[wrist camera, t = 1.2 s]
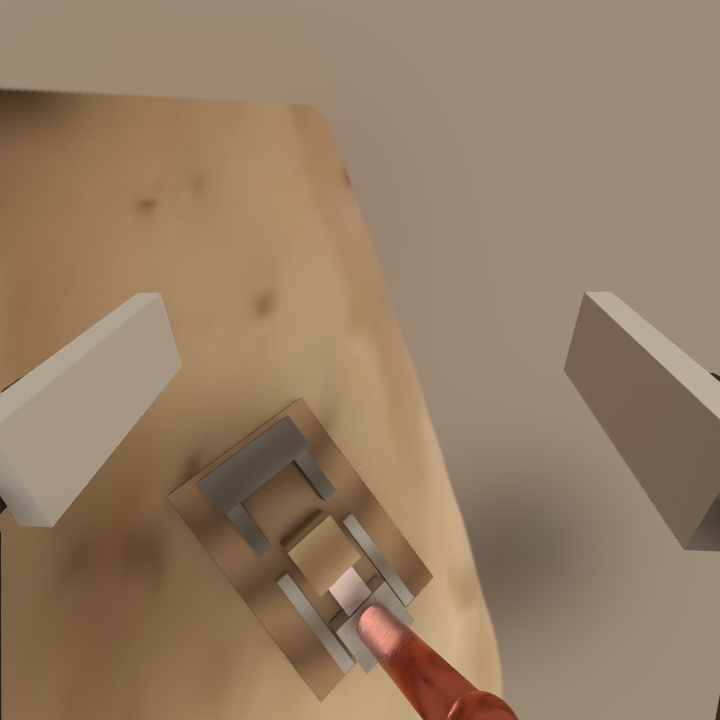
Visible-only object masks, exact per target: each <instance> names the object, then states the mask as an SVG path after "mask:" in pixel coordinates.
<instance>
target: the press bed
mask: <svg viewBox="0 0 720 720" xmlns="http://www.w3.org/2000/svg"><path fill="white" fill-rule="evenodd" d="M167 498H168V499H169V500H170V502H171V503H172V504H173V506H174V507H175V508H176V510H177V511H178V512H179V514H180V515H181V516H182V518H183V519H184V520H185V522H186V523H187V524H188V526H189V527H190V528H191V530H192V531H193V532H194V534H195V535H196V536H197V538H198V539H199V540H200V542H201V543H202V544H203V546H204V547H205V548H206V550H207V551H208V552H209V554H210V555H211V556H212V558H213V559H214V560H215V562H216V563H217V564H218V566H219V567H220V568H221V570H222V571H223V572H224V574H225V575H226V576H227V578H228V579H229V580H230V582H231V583H232V584H233V586H234V587H235V588H236V590H237V591H238V592H239V594H240V595H241V596H242V598H243V599H244V601H245V602H246V603H247V605H248V606H249V607H250V609H251V610H252V611H253V613H254V614H255V615H256V617H257V618H258V619H259V621H260V622H261V623H262V625H263V626H264V627H265V629H266V630H267V631H268V633H269V634H270V635H271V637H272V638H273V639H274V641H275V642H276V643H277V645H278V646H279V647H280V649H281V650H282V651H283V653H284V654H285V655H286V657H287V658H288V659H289V661H290V662H291V663H292V665H293V666H294V667H295V669H296V670H297V671H298V673H299V674H300V675H301V677H302V678H303V679H304V681H305V682H306V683H307V685H308V686H309V687H310V689H311V690H312V691H313V693H314V694H315V695H316V697H317V698H318V699H319V701H320V702H322V701H323V699H324V698H325V697H326V696H327V695H328V694H329V693H330V692H331V691H332V689H333V688H334V687H335V686H336V685H337V684H338V683H339V682H340V681H341V679H342V678H343V677H344V676H345V675H346V674H347V673H348V672H349V671H350V669H351V668H352V667H353V666H354V665H355V664H356V663H357V662H358V661H357V660H356V658H355V657H354V656H353V654H352V653H351V652H350V650H349V649H348V648H347V646H346V645H345V644H344V642H343V641H342V640H341V638H340V637H339V636H338V634H337V633H336V632H335V630H334V629H333V627H332V626H331V624H330V622H331V621H332V620H333V619H334V618H335V617H336V616H337V615H338V614H339V613H340V611H341V610H342V608H341V606H340V605H339V604H338V602H337V601H336V600H335V598H334V597H333V596H332V594H331V593H330V591H329V590H327V591H326V592H325V593H324V594H323V595H322V596H321V597H320V596H319V595H318V593H317V592H316V591H315V589H314V588H313V587H312V585H311V584H310V583H309V581H308V580H307V579H306V577H305V576H304V575H303V573H302V572H301V571H300V569H299V568H298V567H297V565H296V564H295V563H294V561H293V560H292V558H291V557H290V556H289V554H288V553H287V552H286V550H285V549H284V548H283V546H282V545H281V543H280V542H281V541H283V540H284V539H285V538H286V537H287V536H288V535H289V534H290V533H292V532H293V531H294V530H295V529H296V528H297V527H298V526H300V525H301V524H302V523H303V522H304V521H305V520H306V519H307V518H309V517H310V516H311V515H312V514H313V513H314V512H315V511H317V510H318V509H319V510H321V511H323V512H325V513H327V514H329V515H330V516H331V517H332V518H333V520H334V521H335V522H336V524H337V525H338V526H339V528H340V529H341V531H342V532H343V533H344V535H345V536H346V537H347V539H348V540H349V541H350V543H351V544H352V545H353V547H354V548H355V549H356V551H357V552H358V553H359V555H360V556H361V558H360V559H359V560H358V561H357V562H356V563H355V564H354V565H352V567H353V568H354V570H355V571H356V572H357V574H358V575H359V576H360V578H361V579H362V580H363V582H364V583H365V585H367V584H368V583H369V582H370V581H371V580H372V579H373V577H374V576H375V575H378V576H379V577H380V578H382V579H383V580H384V581H385V582H386V583H387V584H388V586H389V587H390V588H391V590H392V591H393V592H394V594H395V595H396V596H397V598H398V599H399V601H400V602H401V603H402V605H403V606H404V607H405V608H406V607H407V606H408V605H409V604H410V603H411V601H412V600H413V599H414V598H415V597H416V596H417V595H418V594H419V593H420V591H421V590H422V589H423V588H424V587H425V586H426V585H427V584H428V583H429V581H430V580H431V579H432V578H433V576H432V574H431V573H430V572H429V570H428V569H427V567H426V566H425V565H424V563H423V562H422V561H421V559H420V558H419V557H418V555H417V554H416V553H415V551H414V550H413V549H412V547H411V546H410V544H409V543H408V542H407V540H406V539H405V538H404V536H403V535H402V534H401V532H400V531H399V530H398V528H397V527H396V526H395V524H394V523H393V521H392V520H391V519H390V517H389V516H388V515H387V513H386V512H385V511H384V509H383V508H382V507H381V505H380V504H379V502H378V501H377V500H376V498H375V497H374V496H373V494H372V493H371V492H370V490H369V489H368V488H367V486H366V485H365V484H364V482H363V481H362V479H361V478H360V477H359V475H358V474H357V473H356V471H355V470H354V469H353V467H352V466H351V465H350V463H349V462H348V460H347V459H346V458H345V456H344V455H343V454H342V452H341V451H340V450H339V448H338V447H337V446H336V444H335V443H334V442H333V440H332V439H331V437H330V436H329V435H328V433H327V432H326V431H325V429H324V428H323V427H322V425H321V424H320V423H319V421H318V420H317V419H316V417H315V416H314V414H313V413H312V412H311V410H310V409H309V408H308V406H307V405H306V404H305V402H304V401H303V400H302V398H300V399H298V400H297V401H296V402H294V403H293V404H291V405H290V406H289V407H287V408H286V409H285V410H283V411H282V412H281V413H279V414H278V415H277V416H275V417H274V418H272V419H271V420H270V421H268V422H267V423H266V424H264V425H263V426H262V427H260V428H259V429H258V430H256V431H255V432H253V433H252V434H251V435H249V436H248V437H247V438H245V439H244V440H243V441H241V442H240V443H239V444H237V445H236V446H234V447H233V448H232V449H230V450H229V451H228V452H226V453H225V454H224V455H222V456H221V457H220V458H218V459H217V460H215V461H214V462H213V463H211V464H210V465H209V466H207V467H206V468H205V469H203V470H202V471H201V472H199V473H198V474H196V475H195V476H194V477H192V478H191V479H190V480H188V481H187V482H186V483H184V484H183V485H182V486H180V487H179V488H177V489H176V490H175V491H173V492H172V493H171V494H169V495H168V496H167Z"/></svg>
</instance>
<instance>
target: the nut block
mask: <svg viewBox="0 0 720 720" xmlns="http://www.w3.org/2000/svg"><path fill="white" fill-rule="evenodd" d="M280 543H281V545H282V546H283V548H284V549H285V550H286V552H287V553H288V554H289V556H290V557H291V558H292V560H293V561H294V563H295V564H296V565H297V567H298V568H299V569H300V571H301V572H302V573H303V575H304V576H305V577H306V579H307V580H308V581H309V583H310V584H311V585H312V587H313V588H314V589H315V591H316V592H317V593H318V595H319V596H320V597H321V596H322V595H323V594H324V593H325V592H326V591H327V590H328V589H329V588H330V587H331V586H332V585H333V584H334V583H335V582H336V581H337V580H338V579H339V578H340V577H341V576H342V575H343V574H344V573H345V572H346V571H347V570H348V569H349V568H350V567H351V566H352V565H354V564H355V563H356V562H357V561H358V560H359V559H360V558H361V556H360V555H359V553H358V552H357V551H356V549H355V548H354V547H353V545H352V544H351V543H350V541H349V540H348V539H347V537H346V536H345V535H344V533H343V532H342V531H341V529H340V528H339V526H338V525H337V524H336V522H335V521H334V520H333V518H332V517H331V516H330V515H329V514H327V513H325V512H323V511H321V510H319V509H318V510H317V511H315V512H314V513H313V514H312V515H311V516H310V517H309V518H307V519H306V520H305V521H304V522H303V523H302V524H301V525H300V526H298V527H297V528H296V529H295V530H294V531H293V532H292V533H290V534H289V535H288V536H287V537H286V538H285V539H284V540H283V541H281V542H280Z"/></svg>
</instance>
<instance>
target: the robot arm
mask: <svg viewBox="0 0 720 720" xmlns="http://www.w3.org/2000/svg"><path fill="white" fill-rule="evenodd" d="M181 367H182V365H181V361H180V358H179V354H178V351H177V347H176V344H175V341H174V337H173V334H172V330H171V327H170V323H169V320H168V317H167V313H166V310H165V306H164V303H163V299H162V296H161V293H137V294H136V295H134V296H133V297H132V298H130V299H129V300H128V301H126V302H125V303H123V304H122V305H121V306H119V307H118V308H117V309H115V310H114V311H113V312H111V313H110V314H108V315H107V316H106V317H104V318H103V319H102V320H100V321H99V322H98V323H96V324H95V325H93V326H92V327H91V328H89V329H88V330H87V331H85V332H84V333H83V334H81V335H80V336H78V337H77V338H76V339H74V340H73V341H72V342H70V343H69V344H68V345H66V346H65V347H63V348H62V349H61V350H59V351H58V352H57V353H55V354H54V355H53V356H51V357H50V358H48V359H47V360H46V361H44V362H43V363H42V364H40V365H39V366H38V367H36V368H35V369H33V370H32V371H31V372H29V373H28V374H27V375H25V376H23V377H21V378H19V379H18V380H16V381H15V382H14V383H12V384H11V385H10V386H8V387H7V388H5V389H4V390H3V391H2V393H1V394H0V514H1V513H2V511H3V510H4V509H5V508H7V509H8V511H9V512H10V513H11V515H12V516H13V518H14V519H15V521H16V522H17V524H18V525H19V526H31V527H53V526H54V525H55V523H56V522H57V521H58V520H59V518H60V517H61V516H62V515H63V513H64V512H65V511H66V510H67V508H68V507H69V506H70V505H71V504H72V502H73V501H74V500H75V499H76V497H77V496H78V495H79V494H80V492H81V491H82V490H83V489H84V487H85V486H86V485H87V484H88V482H89V481H90V480H91V479H92V477H93V476H94V475H95V474H96V472H97V471H98V470H99V469H100V467H101V466H102V465H103V464H104V462H105V461H106V460H107V459H108V458H109V456H110V455H111V454H112V453H113V451H114V450H115V449H116V448H117V446H118V445H119V444H120V443H121V441H122V440H123V439H124V438H125V436H126V435H127V434H128V433H129V431H130V430H131V429H132V428H133V426H134V425H135V424H136V423H137V421H138V420H139V419H140V418H141V416H142V415H143V414H144V413H145V412H146V410H147V409H148V408H149V407H150V405H151V404H152V403H153V402H154V400H155V399H156V398H157V397H158V395H159V394H160V393H161V392H162V390H163V389H164V388H165V387H166V385H167V384H168V383H169V382H170V380H171V379H172V378H173V377H174V375H175V374H176V373H177V372H178V370H179V369H180V368H181ZM564 371H565V373H566V374H567V376H568V377H569V379H570V380H571V382H572V383H573V384H574V386H575V388H576V389H577V390H578V392H579V393H580V395H581V396H582V398H583V399H584V401H585V402H586V404H587V405H588V407H589V409H590V410H591V411H592V413H593V414H594V416H595V417H596V419H597V420H598V422H599V423H600V425H601V426H602V428H603V429H604V431H605V432H606V434H607V435H608V437H609V438H610V440H611V441H612V443H613V444H614V446H615V447H616V449H617V450H618V452H619V453H620V455H621V456H622V458H623V459H624V461H625V462H626V464H627V465H628V467H629V468H630V470H631V471H632V473H633V474H634V476H635V477H636V479H637V480H638V482H639V483H640V485H641V486H642V488H643V489H644V491H645V492H646V494H647V495H648V497H649V498H650V500H651V501H652V503H653V504H654V506H655V507H656V509H657V510H658V512H659V513H660V515H661V516H662V518H663V519H664V521H665V522H666V524H667V525H668V527H669V528H670V530H671V531H672V533H673V534H674V536H675V537H676V539H677V540H678V542H679V543H680V545H681V546H682V548H683V549H684V550H700V551H720V376H718V375H716V374H714V373H708V372H707V371H706V370H705V369H703V368H702V367H701V366H700V365H699V364H697V363H696V362H695V361H694V360H692V359H691V358H690V357H689V356H688V355H686V354H685V353H684V352H683V351H682V350H680V349H679V348H678V347H677V346H676V345H674V344H673V343H672V342H671V341H670V340H668V339H667V338H666V337H665V336H663V335H662V334H661V333H660V332H659V331H657V330H656V329H655V328H654V327H653V326H651V325H650V324H649V323H648V322H647V321H645V320H644V319H643V318H642V317H641V316H639V315H638V314H637V313H636V312H635V311H633V310H632V309H631V308H630V307H628V306H627V305H626V304H625V303H624V302H622V301H621V300H620V299H619V298H618V297H616V296H615V295H614V294H613V293H612V292H584V295H583V299H582V303H581V306H580V311H579V314H578V318H577V321H576V325H575V329H574V333H573V336H572V340H571V344H570V348H569V351H568V355H567V359H566V363H565V366H564ZM0 720H1V532H0ZM715 720H720V697H719V703H718V708H717V714H716V719H715Z"/></svg>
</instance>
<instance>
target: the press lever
mask: <svg viewBox="0 0 720 720" xmlns="http://www.w3.org/2000/svg"><path fill="white" fill-rule="evenodd" d="M328 590H329V591H330V593H331V594H332V596H333V597H334V598H335V600H336V601H337V602H338V604H339V605H340V606H341V608H342V610H341V611H340V613H339V614H338V615H337V616H336V617H335V618H334V619H333V620H332V621H331V622H330V624H331V626H332V627H333V629H334V630H335V632H336V633H337V634H338V636H339V637H340V638H341V640H342V641H343V642H344V644H345V645H346V646H347V648H348V649H349V650H350V652H351V653H352V654H353V656H354V657H355V658H356V660H357V661H358V663H359V664H360V665H361V667H362V668H363V669H364V671H365V672H366V673H367V674H368V672H369V671H370V670H371V669H372V668H373V667H374V666H375V664H376V663H377V662H379V664H380V665H381V666H382V668H383V669H384V670H385V671H386V673H387V674H388V675H389V676H390V678H391V679H392V680H393V682H394V683H395V684H396V685H397V687H398V688H399V689H400V691H401V692H402V693H403V694H404V696H405V697H406V698H407V700H408V701H409V702H410V703H411V705H412V706H413V707H414V709H415V710H416V711H417V712H418V714H419V715H420V716H421V717H422V719H423V720H519V719H518V718H517V716H516V714H515V713H514V712H513V710H512V709H511V708H510V707H509V706H508V705H507V704H506V703H505V702H504V701H503V700H502V699H500V698H499V697H497V696H496V695H494V694H491V693H489V692H485V691H479V690H478V689H476V688H475V687H474V686H473V685H472V684H471V683H470V682H469V681H468V680H466V679H465V678H464V677H463V676H462V675H461V674H460V673H459V672H458V671H456V670H455V669H454V668H453V667H452V666H451V665H450V664H449V663H447V662H446V661H445V660H444V659H443V658H442V657H441V656H440V655H439V654H437V653H436V652H435V651H434V650H433V649H432V648H431V647H430V646H429V645H427V644H426V643H425V642H424V641H423V640H422V639H421V638H420V637H419V636H417V635H416V634H415V633H414V632H413V631H412V630H411V629H410V628H408V627H409V626H410V624H411V623H412V622H413V621H414V619H413V618H412V617H411V615H410V614H409V613H408V611H407V610H406V609H405V607H404V606H403V605H402V603H401V602H400V601H399V599H398V598H397V596H396V595H395V594H394V592H393V591H392V590H391V588H390V587H389V586H388V584H387V583H386V582H385V581H384V580H383V579H382V578H380V577H379V576H378V575H375V576H374V577H373V579H372V580H371V581H370V582H369V583H368V584H367V585H365V583H364V582H363V580H362V579H361V578H360V576H359V575H358V574H357V572H356V571H355V570H354V568H353V567H352V566H351V567H350V568H349V569H348V570H347V571H346V572H345V573H344V574H343V575H342V576H341V577H340V578H339V579H338V580H337V581H336V582H335V583H334V584H333V585H332V586H331V587H330V588H329V589H328Z"/></svg>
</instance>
